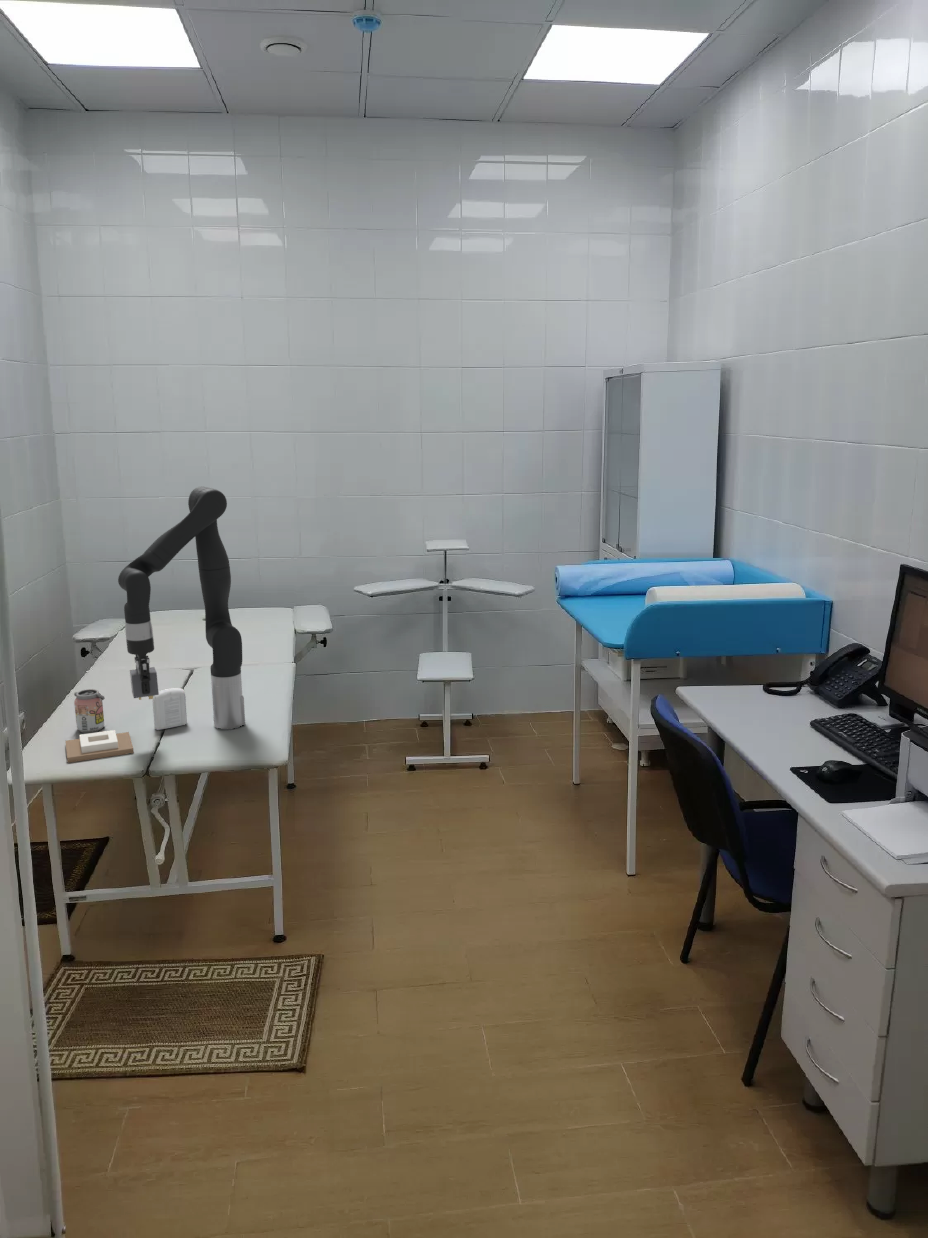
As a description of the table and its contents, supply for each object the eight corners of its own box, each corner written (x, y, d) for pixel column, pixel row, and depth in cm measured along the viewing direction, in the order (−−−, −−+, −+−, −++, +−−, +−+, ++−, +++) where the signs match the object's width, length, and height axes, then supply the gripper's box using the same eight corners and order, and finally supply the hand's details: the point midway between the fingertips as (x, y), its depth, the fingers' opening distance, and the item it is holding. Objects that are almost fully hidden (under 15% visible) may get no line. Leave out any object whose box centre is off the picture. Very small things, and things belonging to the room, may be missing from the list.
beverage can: (86, 722, 302) (82, 686, 299) (111, 723, 301) (108, 687, 298) (71, 732, 293) (67, 696, 290) (97, 734, 292) (93, 697, 289)
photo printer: (184, 720, 304) (182, 684, 300) (189, 724, 300) (186, 688, 297) (152, 727, 298) (149, 690, 295) (157, 731, 294) (153, 694, 291)
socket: (129, 736, 290) (128, 725, 289) (133, 753, 278) (132, 742, 277) (65, 745, 283) (64, 734, 282) (67, 762, 271) (66, 751, 270)
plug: (156, 693, 285) (154, 667, 283) (159, 699, 281) (156, 672, 278) (132, 697, 283) (129, 670, 280) (134, 703, 278) (131, 675, 276)
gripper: (155, 640, 272) (161, 696, 276) (150, 628, 284) (155, 681, 289) (128, 644, 269) (134, 700, 273) (123, 631, 281) (129, 685, 286)
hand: (145, 690), depth 281 cm, fingers closed on plug, 5 cm apart
